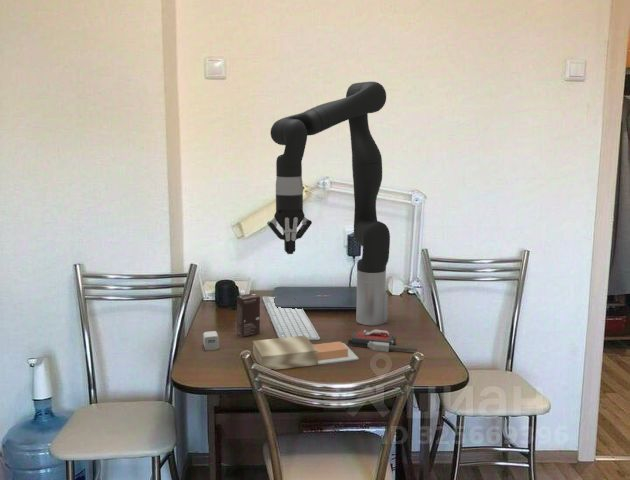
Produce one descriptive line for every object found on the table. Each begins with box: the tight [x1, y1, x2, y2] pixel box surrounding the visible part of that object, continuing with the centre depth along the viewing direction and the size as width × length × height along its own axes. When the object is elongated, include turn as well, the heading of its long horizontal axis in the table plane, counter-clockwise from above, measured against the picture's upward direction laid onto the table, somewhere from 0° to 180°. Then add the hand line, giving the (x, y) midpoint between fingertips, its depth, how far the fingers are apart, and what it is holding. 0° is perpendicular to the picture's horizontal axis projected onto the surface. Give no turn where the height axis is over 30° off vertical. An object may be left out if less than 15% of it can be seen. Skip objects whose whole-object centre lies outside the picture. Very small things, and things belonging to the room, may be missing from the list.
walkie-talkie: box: [347, 329, 418, 353], centre depth 174 cm, size 9×4×20 cm
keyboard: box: [262, 296, 321, 342], centre depth 198 cm, size 44×12×2 cm, turn 11°
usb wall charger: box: [202, 330, 220, 351], centre depth 174 cm, size 4×7×4 cm, turn 15°
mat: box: [318, 342, 360, 365], centre depth 168 cm, size 12×12×1 cm
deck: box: [252, 336, 318, 371], centre depth 164 cm, size 15×12×4 cm
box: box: [236, 293, 261, 338], centre depth 183 cm, size 6×4×12 cm
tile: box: [313, 341, 349, 360], centre depth 166 cm, size 9×6×2 cm, turn 108°
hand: (289, 253), depth 170 cm, fingers closed
